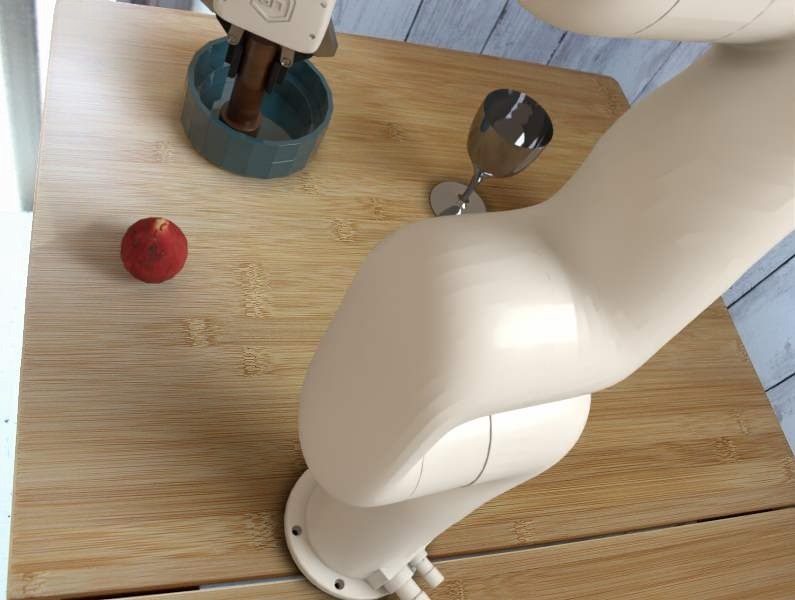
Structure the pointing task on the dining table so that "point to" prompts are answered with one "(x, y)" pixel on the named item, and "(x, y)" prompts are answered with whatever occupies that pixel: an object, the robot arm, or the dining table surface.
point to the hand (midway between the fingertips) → (253, 75)
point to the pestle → (250, 86)
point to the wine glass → (496, 148)
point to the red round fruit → (154, 250)
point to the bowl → (281, 111)
